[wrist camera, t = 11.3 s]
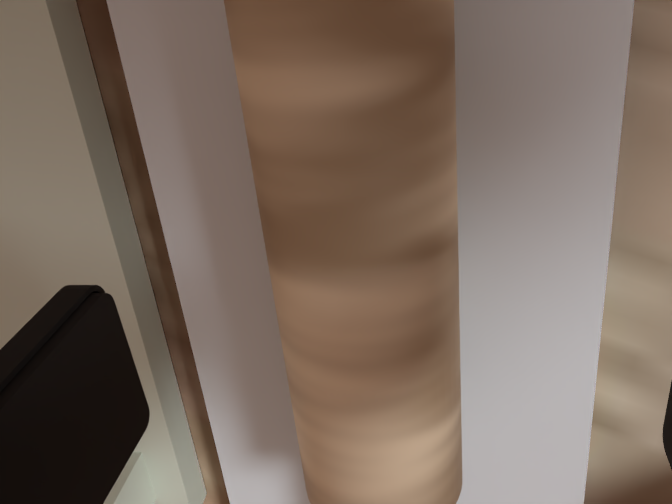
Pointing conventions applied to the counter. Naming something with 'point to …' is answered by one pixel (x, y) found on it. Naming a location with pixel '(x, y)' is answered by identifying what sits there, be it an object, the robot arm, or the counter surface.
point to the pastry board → (473, 235)
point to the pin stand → (80, 227)
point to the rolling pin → (360, 235)
